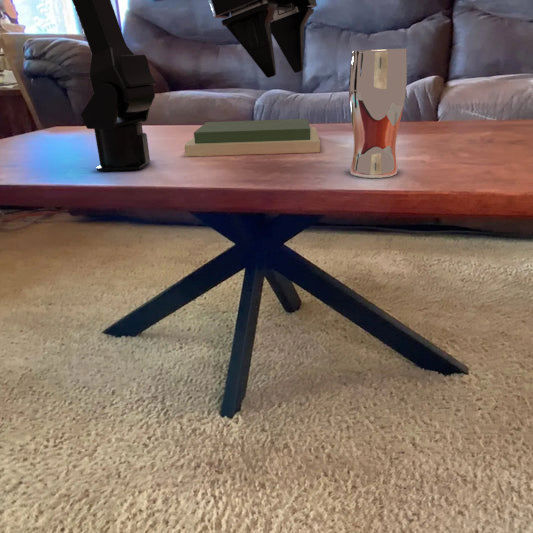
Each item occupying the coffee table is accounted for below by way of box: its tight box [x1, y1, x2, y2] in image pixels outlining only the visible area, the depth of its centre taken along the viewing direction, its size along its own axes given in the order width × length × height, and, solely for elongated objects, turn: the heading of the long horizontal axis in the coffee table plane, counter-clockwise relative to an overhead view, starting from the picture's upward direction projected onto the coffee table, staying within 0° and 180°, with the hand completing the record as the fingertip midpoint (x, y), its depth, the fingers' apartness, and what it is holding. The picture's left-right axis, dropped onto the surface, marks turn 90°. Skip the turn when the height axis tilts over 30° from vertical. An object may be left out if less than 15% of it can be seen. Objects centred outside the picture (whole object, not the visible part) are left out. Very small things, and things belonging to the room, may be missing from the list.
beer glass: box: [348, 48, 408, 179], centre depth 64 cm, size 7×7×15 cm
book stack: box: [183, 118, 321, 158], centre depth 89 cm, size 22×16×4 cm
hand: (286, 74), depth 63 cm, fingers open, 9 cm apart
